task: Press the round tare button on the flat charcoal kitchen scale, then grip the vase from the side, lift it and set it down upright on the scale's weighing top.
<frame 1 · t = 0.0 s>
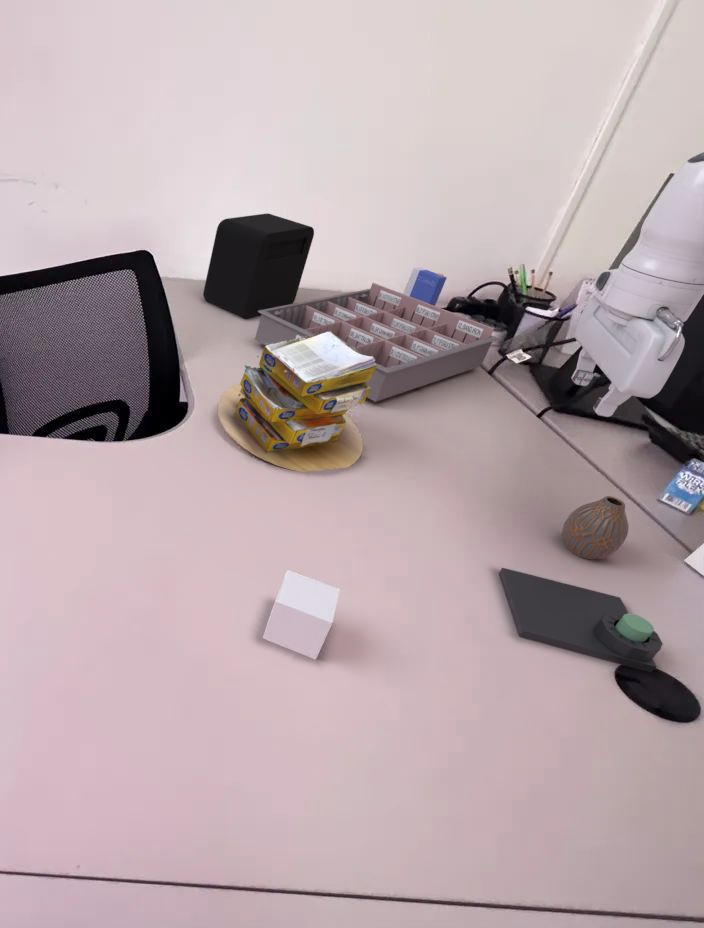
hand: (589, 397, 89), 21 cm above the table, tool pointing down, fingers open, 8 cm apart
organizer tray: (364, 359, 147), on the table
air purifier: (245, 304, 169), on the table
vase: (580, 551, 96), on the table
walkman: (411, 318, 172), on the table
scale: (568, 620, 84), on the table
stacked yellow boxes: (286, 433, 117), on the table
white cube: (292, 633, 78), on the table
tare button: (634, 628, 78), point 3 cm above the table, slide at 0.1 cm
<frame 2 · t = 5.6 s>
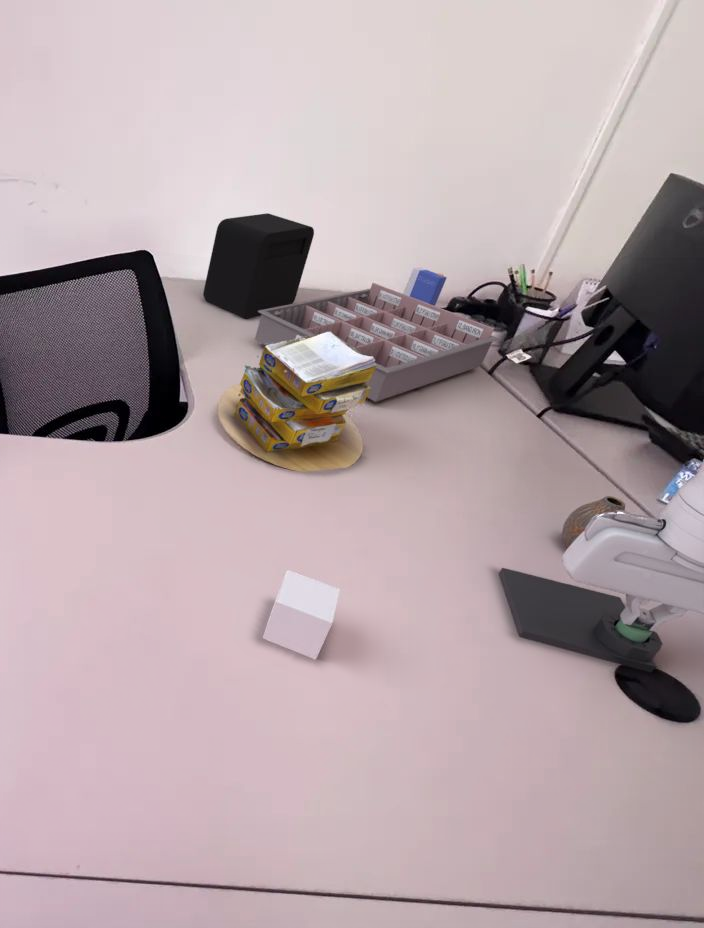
hand: (635, 624, 78), 4 cm above the table, tool pointing down, fingers closed, pressing on tare button
tare button: (632, 630, 78), point 3 cm above the table, slide at -0.2 cm, touching gripper
everything else where it was.
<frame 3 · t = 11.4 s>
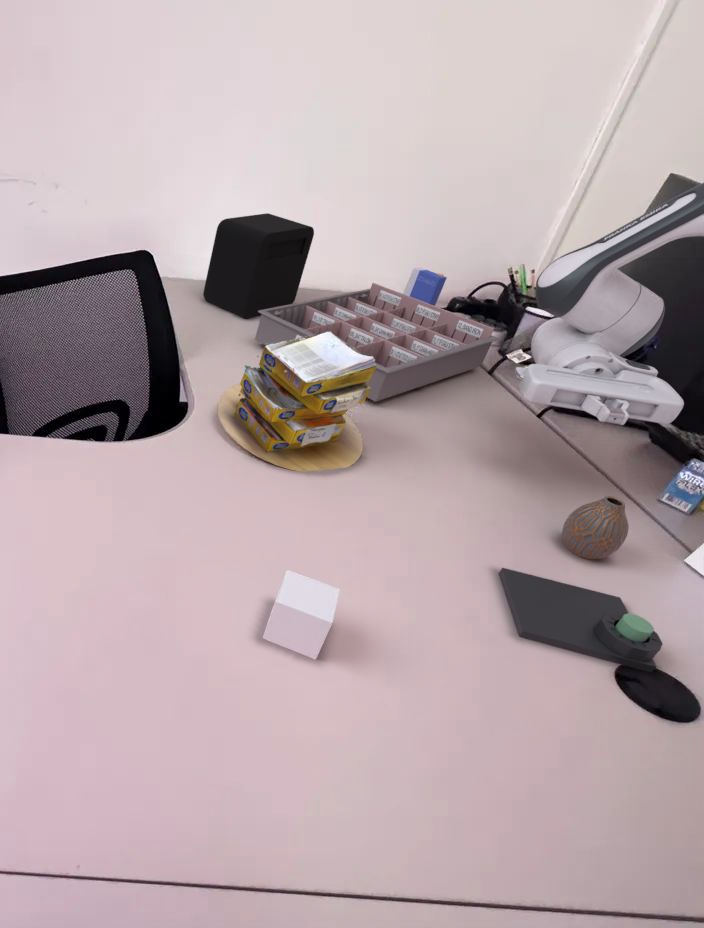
hand: (615, 419, 96), 16 cm above the table, tool horizontal, fingers closed
tare button: (634, 628, 78), point 3 cm above the table, slide at 0.1 cm
everything else where it was.
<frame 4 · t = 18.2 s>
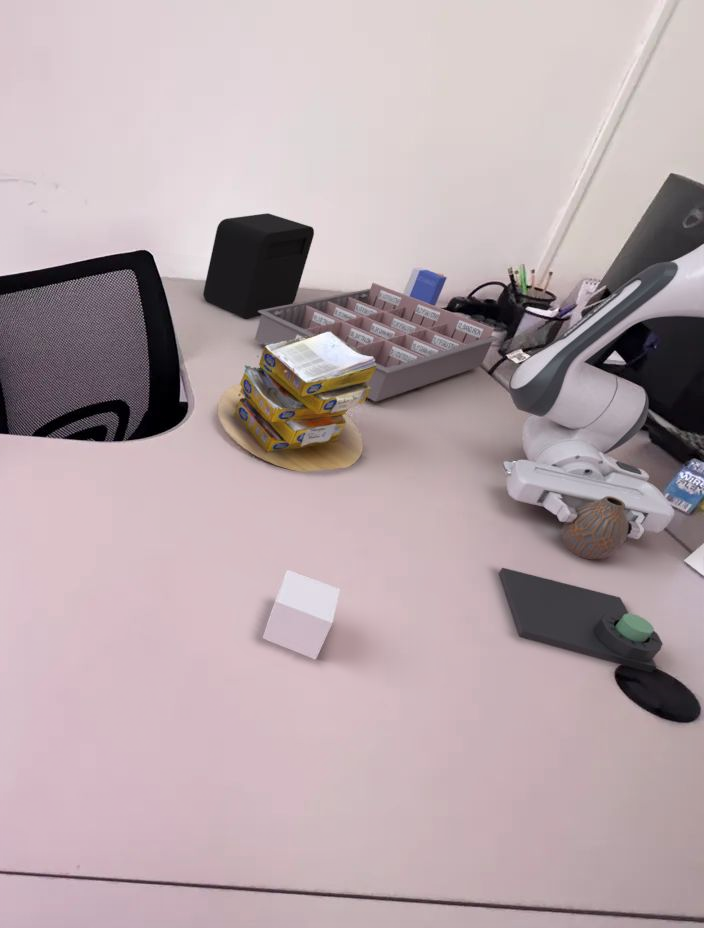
hand: (602, 526, 92), 5 cm above the table, tool horizontal, fingers closed on vase, 7 cm apart
vase: (580, 551, 96), on the table, touching gripper
everything else where it was.
when the fingers open (6 cm above the table, at t = 26.9 s): vase stays where it is, resting on scale.
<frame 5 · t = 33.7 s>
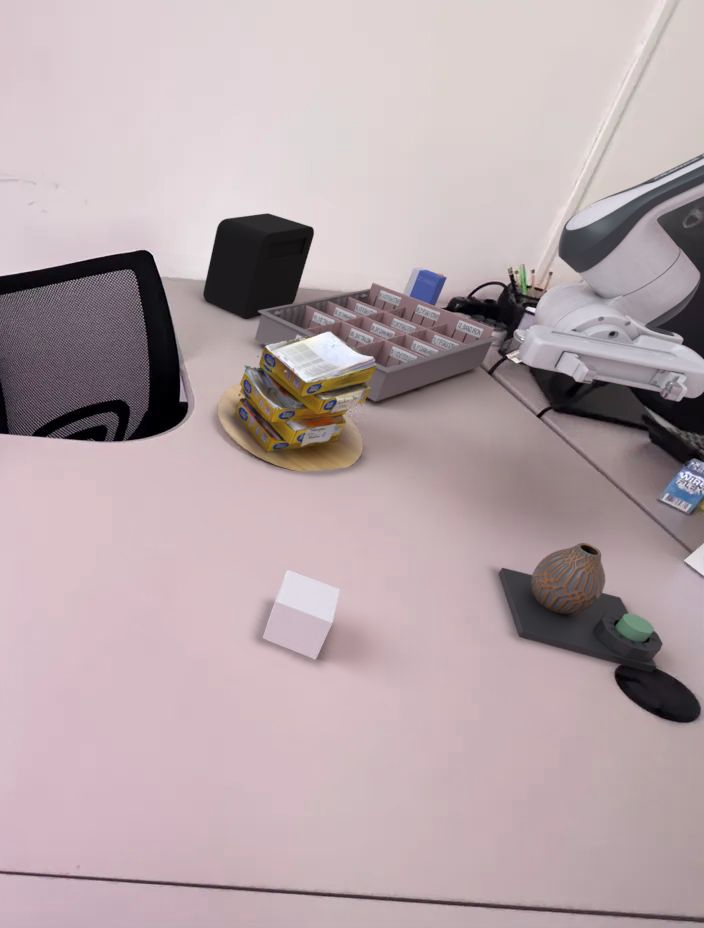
hand: (631, 385, 80), 26 cm above the table, tool horizontal, fingers open, 8 cm apart
vase: (551, 603, 84), point 1 cm above the table, touching scale
everything else where it was.
at the end: tare button pushed in 1.1 cm at the most during the clip, back to where it started at the end; vase inside the target area on the scale (2.4 cm from its centre), point 1.0 cm above the scale's base; vase touching scale; vase tilted 0° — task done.
